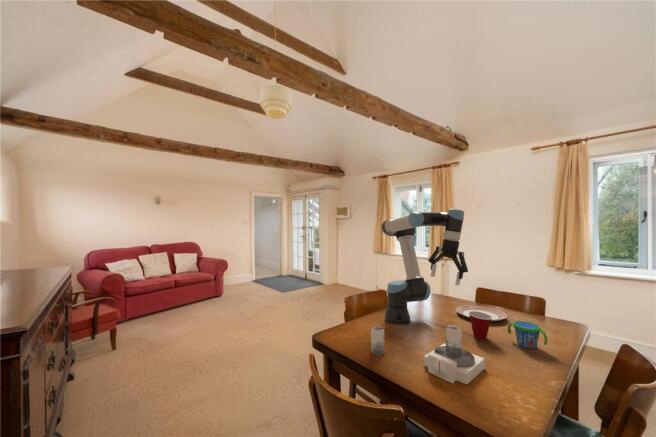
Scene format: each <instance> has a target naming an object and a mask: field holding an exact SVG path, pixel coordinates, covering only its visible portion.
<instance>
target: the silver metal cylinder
mask: <svg viewBox="0 0 656 437" xmlns="http://www.w3.org/2000/svg"><path fill="white" fill-rule="evenodd" d="M462 330H463V329H462V327H460V326H459V325H453V324H447V325H446V326H445V344H446V354H447V355H448V356H450V357H452V358H461V357H462V349H463V338H462V337H463V336H462V333H463V332H462Z"/></svg>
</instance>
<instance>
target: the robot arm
mask: <svg viewBox="0 0 656 437" xmlns="http://www.w3.org/2000/svg"><path fill="white" fill-rule="evenodd" d="M464 217H465V211H464V210H463V209H456V208H449V209H448V210H447V212H443V211H413V212H410V213H409V214H408V215H405V216H401V217H398V218H389V219H385V220H384V221H383V222H382V223H381V226H380V227H381V231H382V233H384V235H386V236H388V237H396V241H397V242H399V245H400V250H401V255H402V261H403V265H404V270H405V276H406V278H405V280H402V279H400V280H399V279H397V280H392V281H389V282H388V284H387V288H386V291H387V307H386V310H385V314H384V320H385V321H386V322H387V323H389V324H394V325H400V326H401V325H407V324H410V323H411V316H410V312H409V309H408V303H413V302H423V301H427V300H428V299H429V298H430V296H431V286H430V284H429V283H428V281H426V280H425V277H423V276H422V275H421V272H420V267H419V262H418V259H417V253H416V249H415V245H414V239H415V236H416V234H417V228H419V227H445V228H444V233H443V239H442V246H436V247H435V250H434V252H433V253H432V254H431V256H430V257H429V258H428V262H429V263H430V271H431V272H430V277H431V278H435V277H436V273H437V266H438V265H437V264H438V262H440V260H442V259H443V258H448V259H451V260H452V261H453V263H454V264H455V267H456V268H457V270H458V271H456V278H455V283H454V284H455V286H460V285H461V280H463V278H464V274H465V273H468V272H469V270H468V266H467V262H466V258H465V252H464V251H459V247H460V240H461V235H462V228H463V224H464ZM440 252H441V253H440ZM438 254H439V255H438ZM457 255H458V256H457Z"/></svg>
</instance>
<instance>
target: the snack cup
mask: <svg viewBox="0 0 656 437" xmlns="http://www.w3.org/2000/svg"><path fill="white" fill-rule="evenodd" d="M511 326H513V328H514V332H515V338H516V343H517V345H519V346H520V347H521V348H525V349H529V350H531V349H532V350H534V349H537V348H538V342H539V336H540V333H541V334H542V335H543V338H544V340H543V345H544V346H546V345H547V344H548V336H547V334H546V332H545V331H544V330H543V329H542V328H541V327H540V325H538V324H536V323H533V322H531V321H525V320H524V321H523V320H515V321H513V322H511V323H509V324H508V327H507V333H508V334H512V330H511Z"/></svg>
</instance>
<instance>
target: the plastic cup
mask: <svg viewBox="0 0 656 437" xmlns="http://www.w3.org/2000/svg"><path fill="white" fill-rule="evenodd" d="M469 315H470V318H469V319H470V324H471V325H470V326H471V329H472V334H473V337H474V338H475V339H477V340H484V341H485V340H486V339H487V338H488V333H489V329H490V323H491V322H490V321H491V319H492V316H490V315H488V314H486V313H482V312H477V311H470V312H469Z"/></svg>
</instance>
